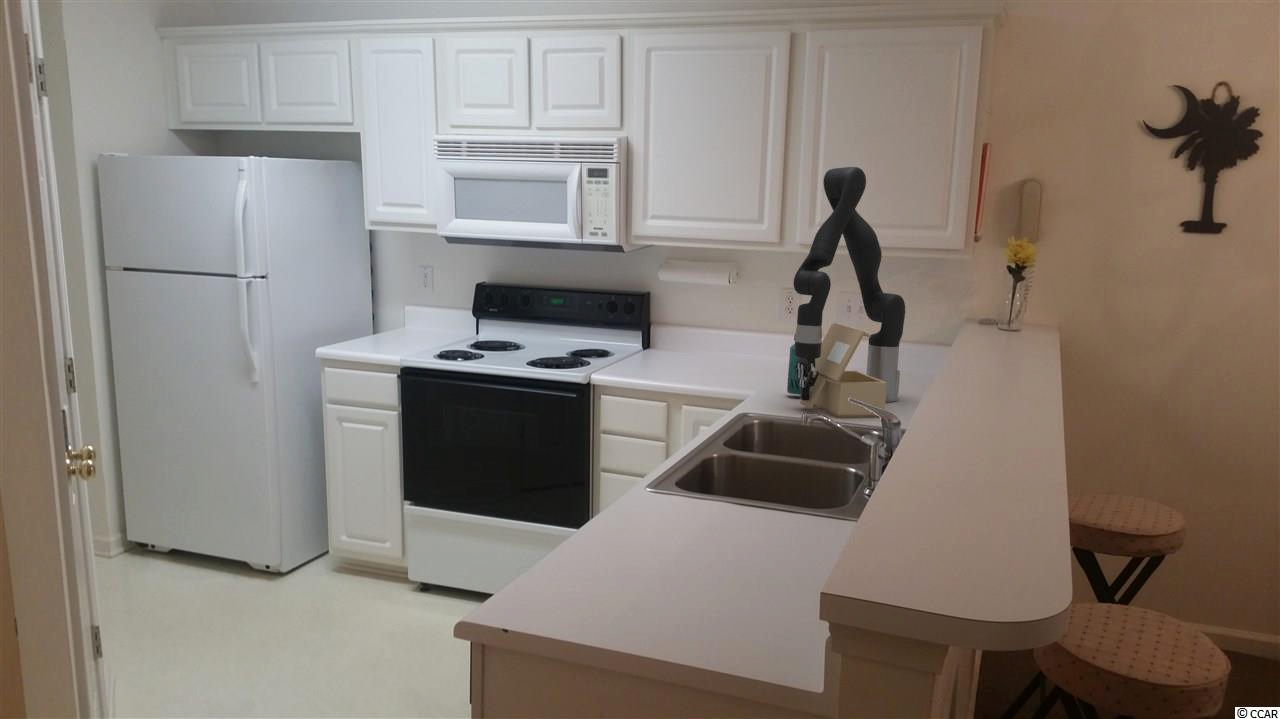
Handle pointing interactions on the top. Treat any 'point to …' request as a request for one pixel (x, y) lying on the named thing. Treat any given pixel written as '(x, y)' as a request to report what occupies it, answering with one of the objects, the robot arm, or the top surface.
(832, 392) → the mailer box
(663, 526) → the top surface
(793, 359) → the beverage bottle
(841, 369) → the lid
